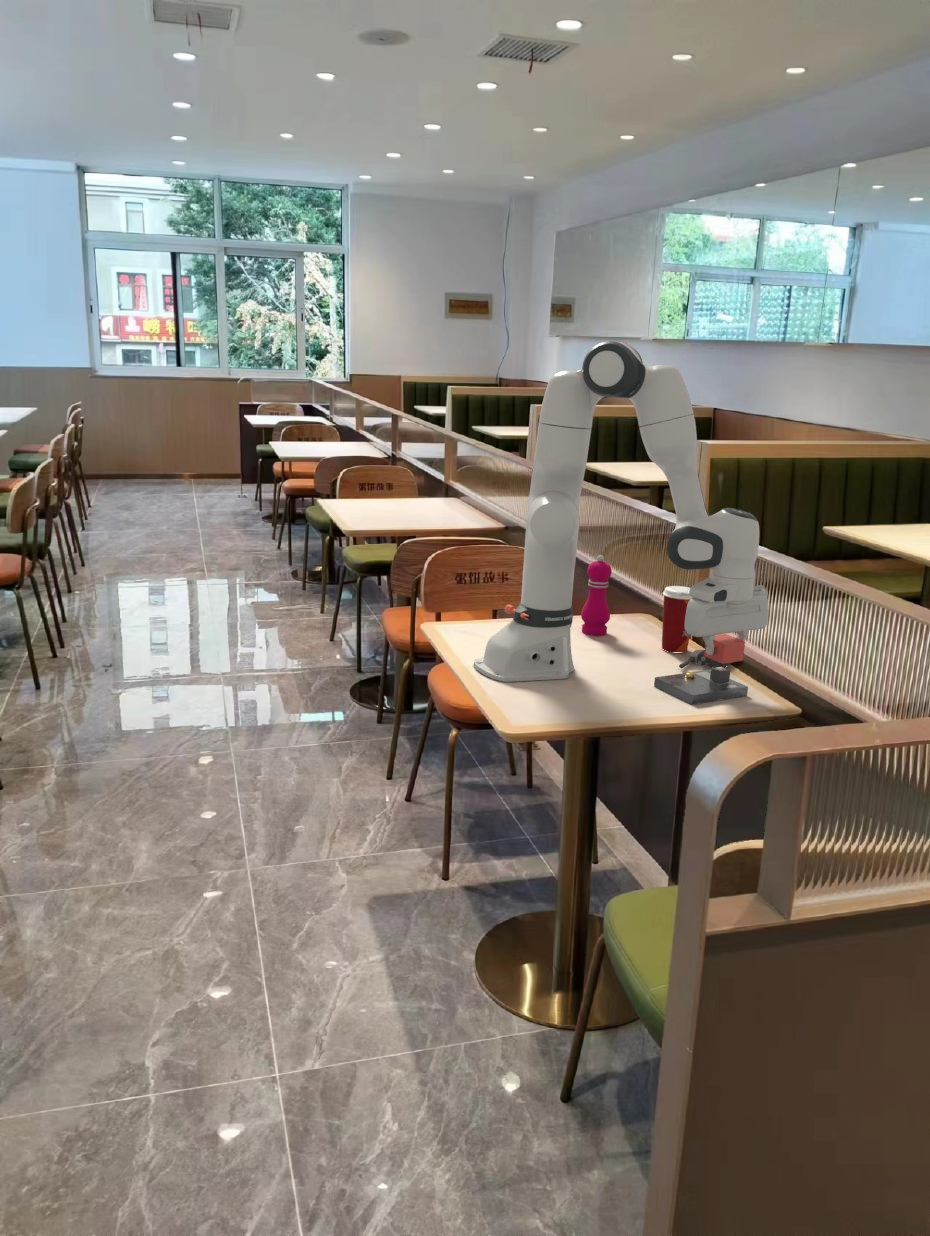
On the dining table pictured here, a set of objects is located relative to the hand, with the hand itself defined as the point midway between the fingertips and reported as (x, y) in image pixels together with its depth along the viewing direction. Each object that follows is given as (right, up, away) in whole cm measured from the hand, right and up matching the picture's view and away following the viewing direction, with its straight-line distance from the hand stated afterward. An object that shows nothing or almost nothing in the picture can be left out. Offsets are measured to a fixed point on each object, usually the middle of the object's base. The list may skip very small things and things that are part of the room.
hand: (723, 652), depth 201 cm
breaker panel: (-5, -8, +1) cm, 9 cm away
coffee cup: (-4, -1, +30) cm, 31 cm away
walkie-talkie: (+2, -4, +21) cm, 21 cm away
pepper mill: (-22, +3, +42) cm, 47 cm away
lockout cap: (0, -1, 0) cm, 1 cm away
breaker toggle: (0, -6, +2) cm, 6 cm away
